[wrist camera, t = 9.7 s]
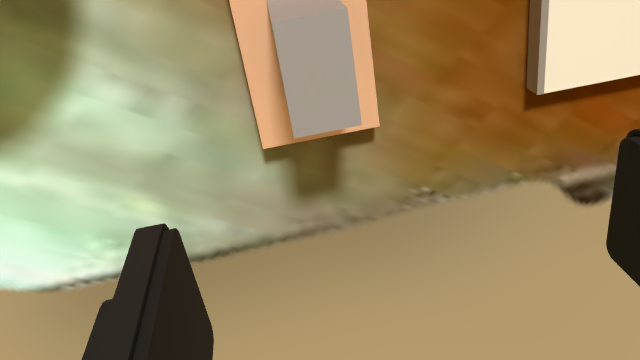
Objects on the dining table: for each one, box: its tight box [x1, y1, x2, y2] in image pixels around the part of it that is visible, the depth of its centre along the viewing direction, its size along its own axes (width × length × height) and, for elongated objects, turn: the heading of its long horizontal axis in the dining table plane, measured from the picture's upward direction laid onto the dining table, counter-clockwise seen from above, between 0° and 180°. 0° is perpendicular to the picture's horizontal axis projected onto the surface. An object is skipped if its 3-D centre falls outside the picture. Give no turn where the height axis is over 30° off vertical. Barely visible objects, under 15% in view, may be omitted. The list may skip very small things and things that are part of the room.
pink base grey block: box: [229, 0, 379, 149], centre depth 24 cm, size 6×10×6 cm, turn 9°
